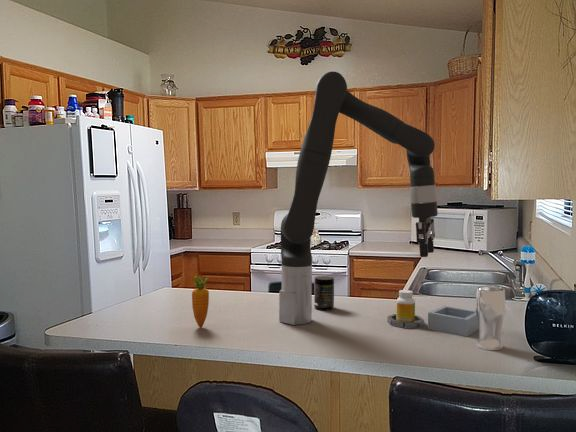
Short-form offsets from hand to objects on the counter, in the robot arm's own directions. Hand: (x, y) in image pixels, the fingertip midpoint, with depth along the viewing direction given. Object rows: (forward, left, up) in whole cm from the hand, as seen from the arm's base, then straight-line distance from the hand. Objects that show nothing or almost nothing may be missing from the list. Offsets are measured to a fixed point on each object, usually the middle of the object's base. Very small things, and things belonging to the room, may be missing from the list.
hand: (427, 254), depth 142 cm
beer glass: (-11, -22, -21) cm, 32 cm away
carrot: (-50, +46, -21) cm, 71 cm away
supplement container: (-8, +33, -21) cm, 40 cm away
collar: (-6, +4, -21) cm, 22 cm away
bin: (-1, -9, -21) cm, 22 cm away
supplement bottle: (-6, +4, -21) cm, 22 cm away
